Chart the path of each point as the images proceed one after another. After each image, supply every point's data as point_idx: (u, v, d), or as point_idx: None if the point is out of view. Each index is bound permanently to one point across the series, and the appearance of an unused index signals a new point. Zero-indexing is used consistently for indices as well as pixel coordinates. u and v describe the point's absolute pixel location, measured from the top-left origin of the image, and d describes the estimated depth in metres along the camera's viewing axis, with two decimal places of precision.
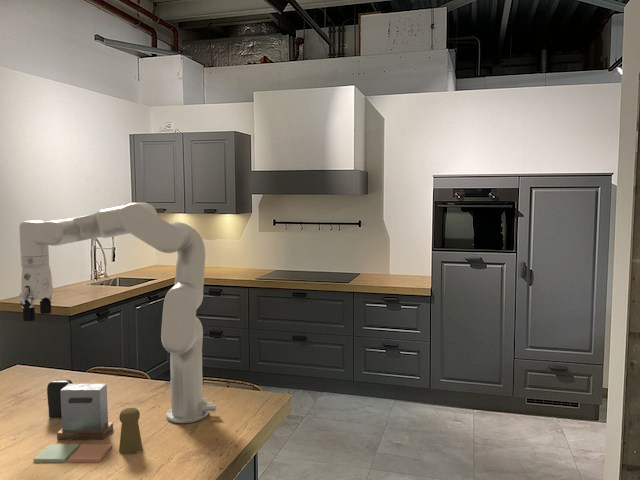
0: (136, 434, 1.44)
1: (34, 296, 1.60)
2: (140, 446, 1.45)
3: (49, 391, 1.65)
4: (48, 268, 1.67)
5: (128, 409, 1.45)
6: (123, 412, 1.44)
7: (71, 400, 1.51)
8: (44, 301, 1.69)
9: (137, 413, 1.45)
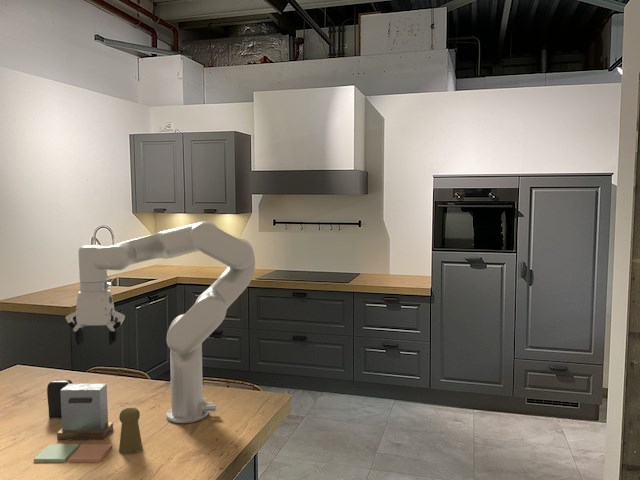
0: (136, 434, 1.44)
1: (114, 317, 1.63)
2: (140, 446, 1.45)
3: (49, 391, 1.65)
4: None
5: (128, 409, 1.45)
6: (123, 412, 1.44)
7: (71, 400, 1.51)
8: (80, 330, 1.61)
9: (137, 413, 1.45)
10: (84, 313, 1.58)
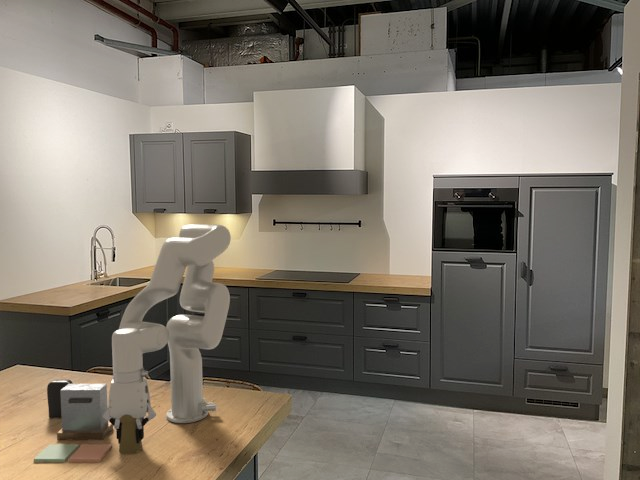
0: None
1: None
2: (140, 446, 1.45)
3: (49, 391, 1.65)
4: None
5: None
6: None
7: (71, 400, 1.51)
8: None
9: None
10: (118, 405, 1.43)
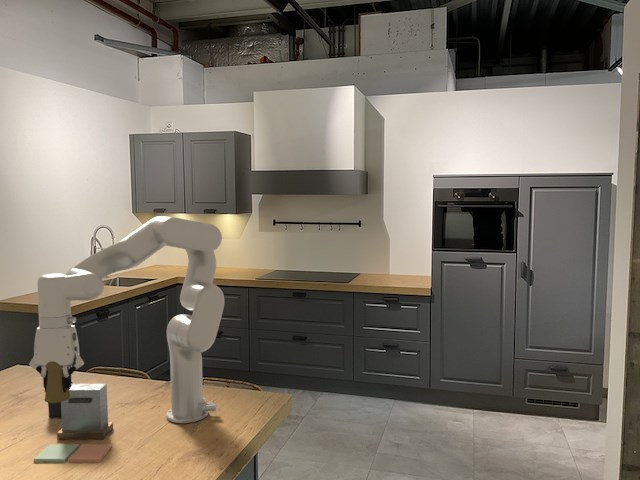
0: None
1: None
2: (67, 395, 1.41)
3: None
4: None
5: None
6: None
7: (71, 400, 1.51)
8: None
9: None
10: (43, 352, 1.38)
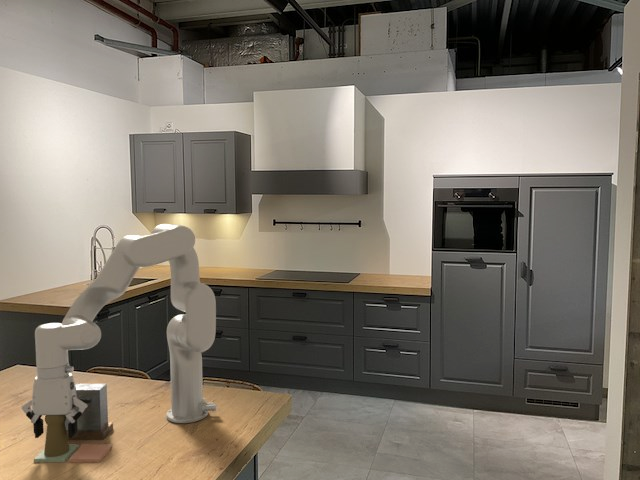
0: (62, 436, 1.41)
1: None
2: (66, 448, 1.42)
3: None
4: None
5: None
6: None
7: None
8: (39, 421, 1.42)
9: None
10: (41, 402, 1.39)
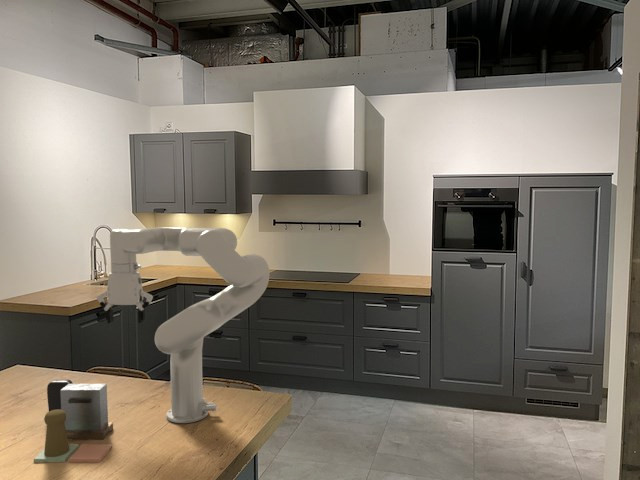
0: (62, 436, 1.41)
1: (142, 298, 1.72)
2: (66, 448, 1.42)
3: (49, 391, 1.65)
4: None
5: (54, 411, 1.42)
6: (48, 414, 1.41)
7: (71, 400, 1.51)
8: (110, 310, 1.70)
9: (63, 415, 1.42)
10: (115, 293, 1.67)
